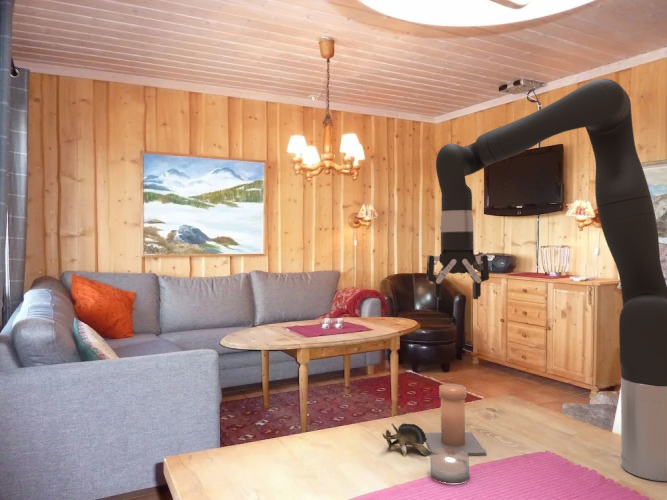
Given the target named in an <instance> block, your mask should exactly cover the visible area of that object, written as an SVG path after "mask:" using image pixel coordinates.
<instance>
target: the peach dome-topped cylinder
mask: <svg viewBox="0 0 667 500" xmlns="http://www.w3.org/2000/svg"><path fill="white" fill-rule="evenodd" d="M438 389H439V391H438V393H439V396H440V427H441V428H440V433H441V442H442V443H443V444H445V445H447V446H452V447H459V446H463V445H464V444H465V432H466V398H467V387H466V386H465V385H463V384H459V383H443V384H441V385H439V386H438Z"/></svg>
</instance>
